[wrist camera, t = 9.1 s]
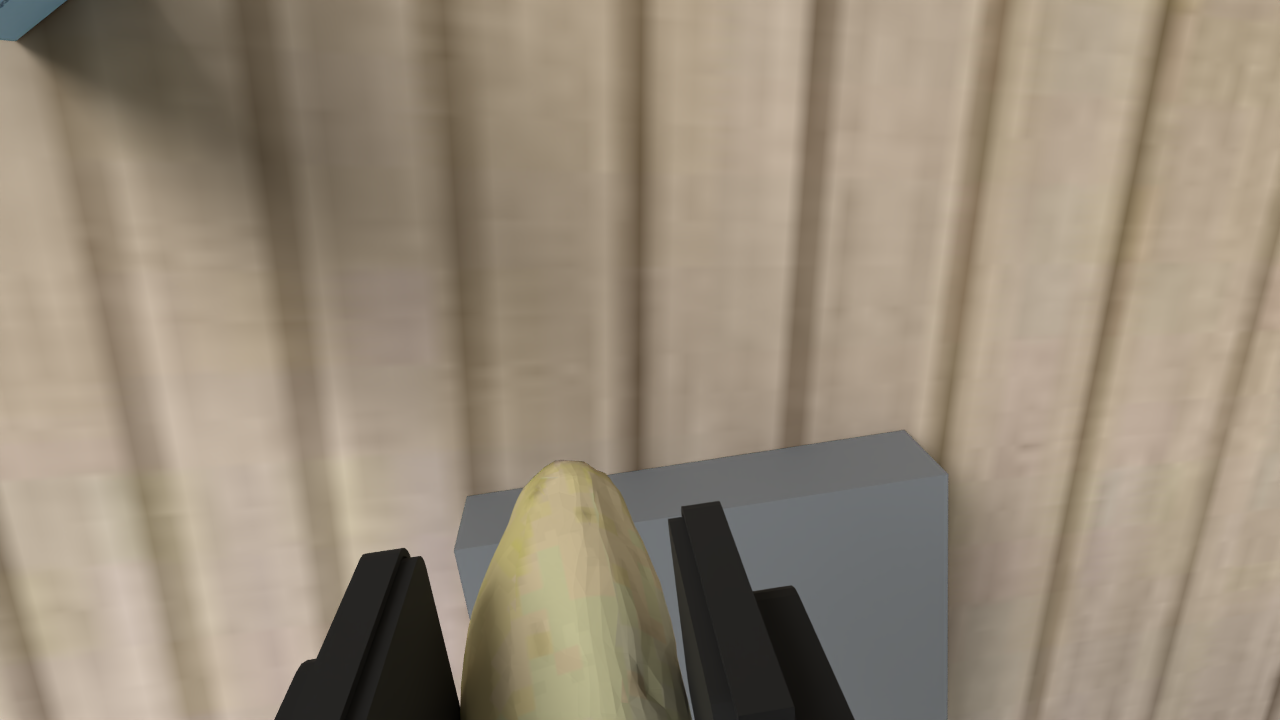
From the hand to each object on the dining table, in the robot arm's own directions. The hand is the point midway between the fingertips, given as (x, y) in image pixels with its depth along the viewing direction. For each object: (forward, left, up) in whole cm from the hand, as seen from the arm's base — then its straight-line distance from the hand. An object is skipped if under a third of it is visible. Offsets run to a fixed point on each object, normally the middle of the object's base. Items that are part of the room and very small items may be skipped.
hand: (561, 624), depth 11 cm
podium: (-4, +15, -20) cm, 25 cm away
